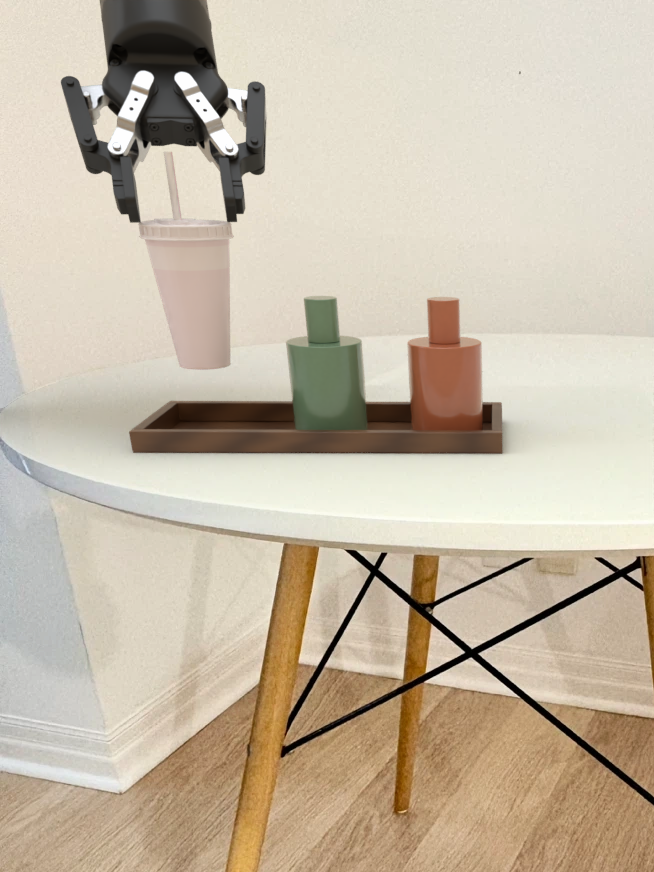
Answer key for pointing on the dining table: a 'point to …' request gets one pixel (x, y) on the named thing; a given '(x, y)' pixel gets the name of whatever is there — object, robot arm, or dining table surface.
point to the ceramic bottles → (345, 383)
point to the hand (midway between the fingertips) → (183, 213)
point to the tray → (303, 431)
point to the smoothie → (192, 281)
